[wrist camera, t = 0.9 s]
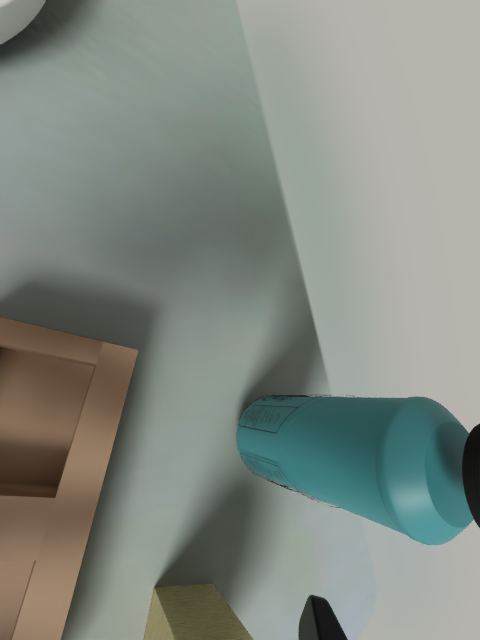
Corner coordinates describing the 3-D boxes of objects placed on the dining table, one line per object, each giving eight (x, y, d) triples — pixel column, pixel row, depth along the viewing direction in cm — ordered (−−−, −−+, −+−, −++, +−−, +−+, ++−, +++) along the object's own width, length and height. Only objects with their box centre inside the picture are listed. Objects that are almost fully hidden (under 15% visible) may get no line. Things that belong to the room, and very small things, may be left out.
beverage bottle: (238, 486, 26) (574, 679, 8) (215, 407, 26) (490, 437, 9) (297, 452, 29) (627, 542, 12) (276, 383, 29) (563, 370, 12)
